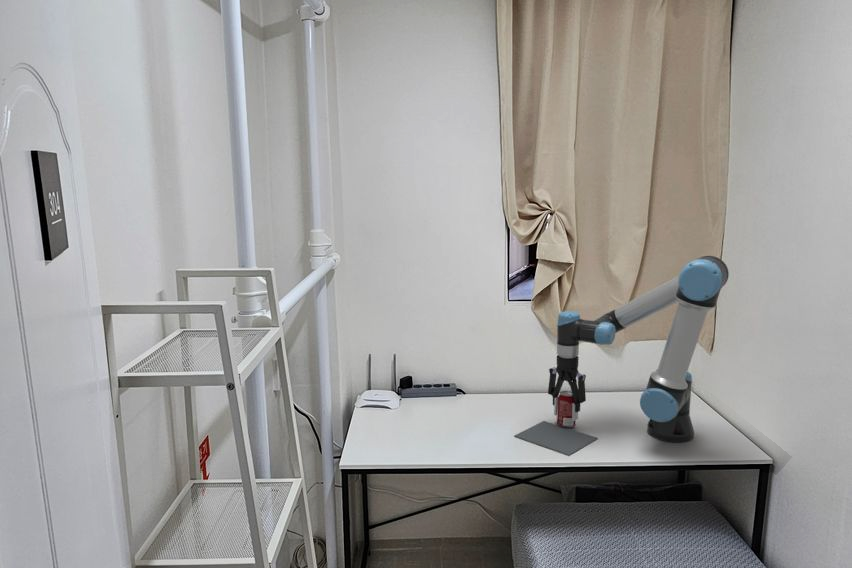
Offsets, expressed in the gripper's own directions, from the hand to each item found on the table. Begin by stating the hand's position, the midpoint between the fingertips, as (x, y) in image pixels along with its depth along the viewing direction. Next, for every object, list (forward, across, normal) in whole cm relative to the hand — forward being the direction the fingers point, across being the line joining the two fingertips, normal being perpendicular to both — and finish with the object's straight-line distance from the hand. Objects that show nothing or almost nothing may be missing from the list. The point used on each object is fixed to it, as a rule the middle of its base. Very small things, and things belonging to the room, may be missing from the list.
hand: (565, 416), depth 225 cm
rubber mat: (+4, -3, +11) cm, 12 cm away
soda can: (+3, 0, 0) cm, 3 cm away
